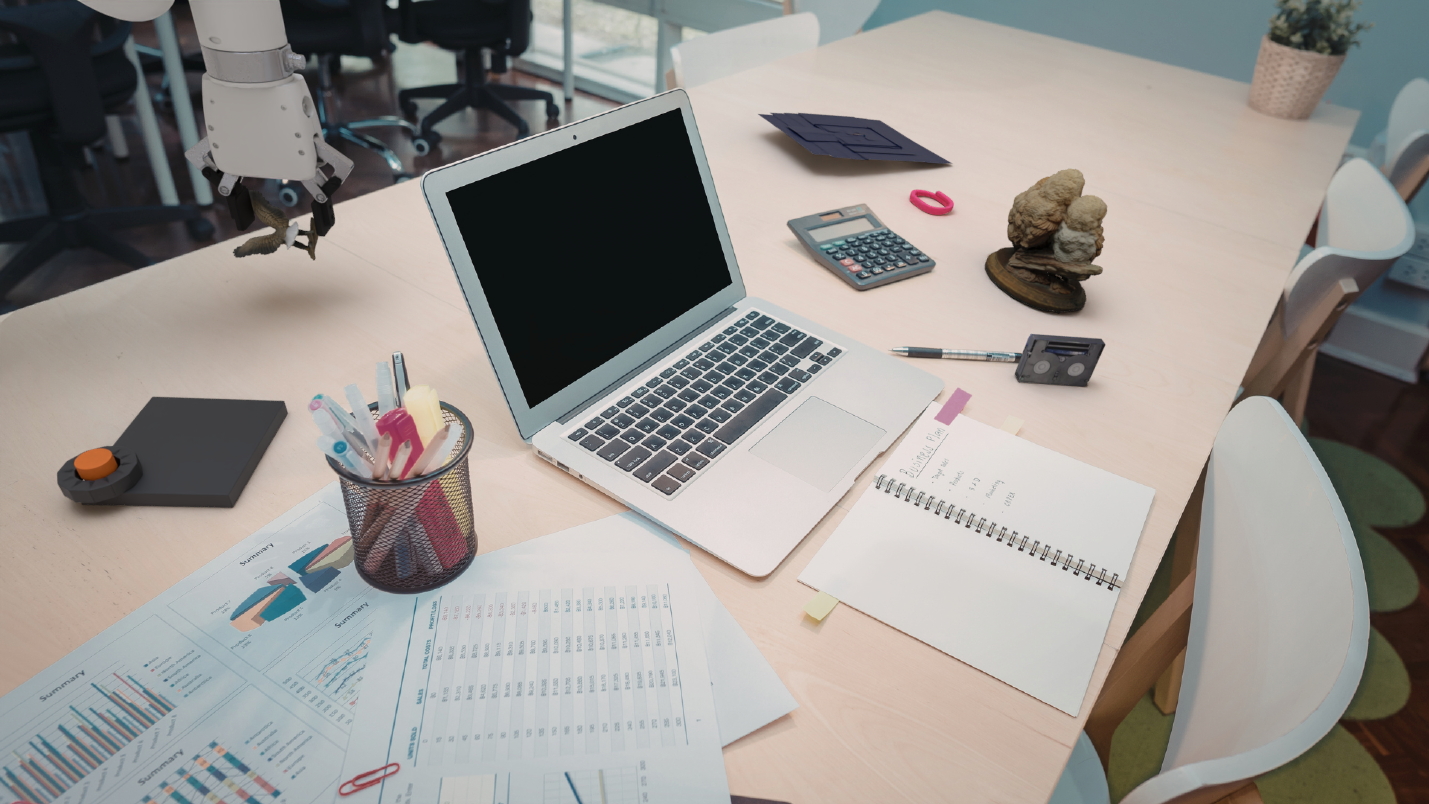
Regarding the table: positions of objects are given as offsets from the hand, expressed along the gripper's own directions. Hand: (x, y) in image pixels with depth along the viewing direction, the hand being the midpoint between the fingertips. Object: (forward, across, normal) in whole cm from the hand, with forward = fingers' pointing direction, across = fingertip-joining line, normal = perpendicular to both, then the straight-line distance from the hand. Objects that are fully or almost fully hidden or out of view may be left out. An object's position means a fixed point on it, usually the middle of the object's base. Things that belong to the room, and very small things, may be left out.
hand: (286, 227), depth 90 cm
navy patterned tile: (+7, -78, -62) cm, 100 cm away
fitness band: (+7, -87, -38) cm, 95 cm away
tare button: (+7, +5, +33) cm, 34 cm away
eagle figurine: (+3, +1, 0) cm, 3 cm away
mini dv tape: (+8, -88, +11) cm, 89 cm away
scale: (+9, 0, +28) cm, 29 cm away
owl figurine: (+7, -95, -12) cm, 96 cm away
